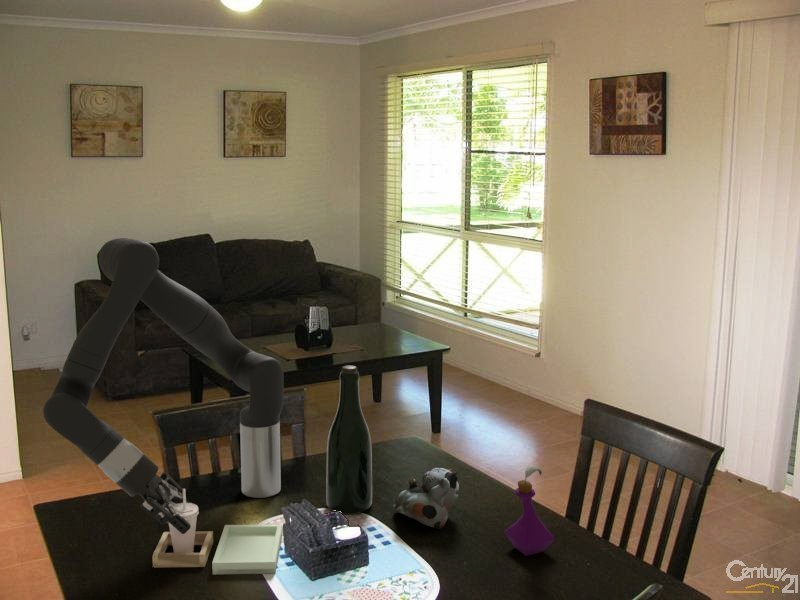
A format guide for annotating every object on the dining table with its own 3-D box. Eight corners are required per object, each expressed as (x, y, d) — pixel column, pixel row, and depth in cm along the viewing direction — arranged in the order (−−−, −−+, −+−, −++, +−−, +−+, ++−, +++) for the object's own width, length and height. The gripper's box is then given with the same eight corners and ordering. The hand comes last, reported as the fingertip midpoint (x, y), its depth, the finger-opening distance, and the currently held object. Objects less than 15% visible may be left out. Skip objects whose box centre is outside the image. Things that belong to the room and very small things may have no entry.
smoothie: (191, 563, 163) (189, 497, 161) (161, 560, 165) (158, 493, 162) (205, 548, 169) (203, 483, 167) (176, 544, 171) (173, 480, 168)
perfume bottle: (524, 561, 166) (528, 477, 162) (503, 545, 172) (506, 463, 169) (554, 553, 169) (558, 470, 166) (532, 538, 176) (536, 457, 172)
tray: (225, 535, 175) (225, 525, 175) (282, 534, 176) (282, 524, 175) (212, 574, 159) (212, 562, 159) (275, 573, 160) (275, 562, 160)
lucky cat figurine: (392, 505, 191) (418, 449, 192) (440, 528, 190) (465, 472, 191) (390, 515, 176) (418, 455, 177) (441, 540, 175) (469, 479, 176)
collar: (164, 543, 172) (163, 531, 171) (213, 542, 172) (213, 531, 172) (152, 567, 162) (152, 555, 161) (204, 566, 162) (204, 554, 162)
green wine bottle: (318, 510, 187) (317, 369, 181) (338, 493, 197) (338, 358, 191) (360, 519, 184) (361, 375, 177) (379, 500, 193) (380, 363, 187)
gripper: (131, 468, 155) (197, 526, 158) (150, 441, 170) (210, 494, 172) (104, 495, 156) (170, 552, 159) (125, 465, 170) (185, 518, 173)
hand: (190, 522), depth 166 cm, fingers closed on smoothie, 6 cm apart
